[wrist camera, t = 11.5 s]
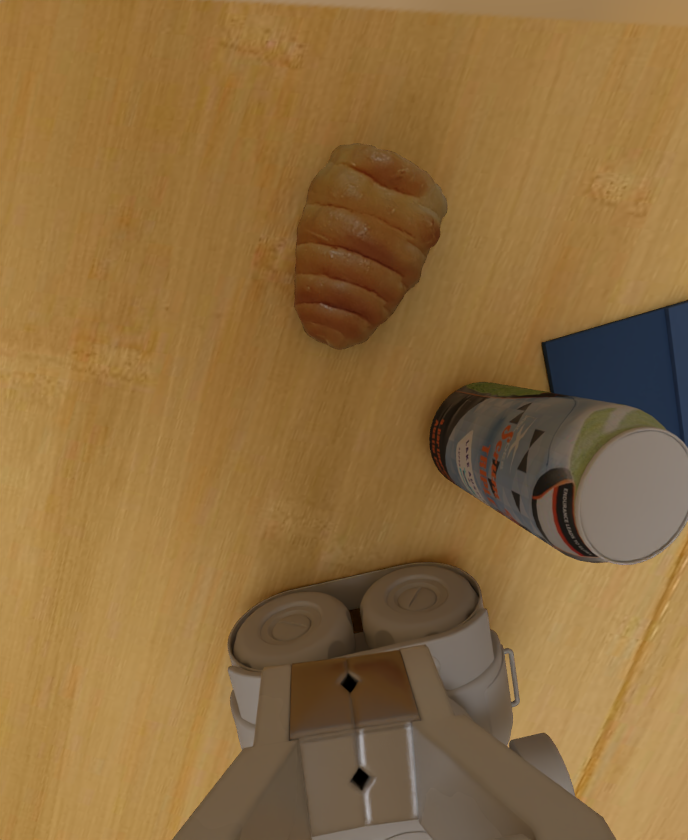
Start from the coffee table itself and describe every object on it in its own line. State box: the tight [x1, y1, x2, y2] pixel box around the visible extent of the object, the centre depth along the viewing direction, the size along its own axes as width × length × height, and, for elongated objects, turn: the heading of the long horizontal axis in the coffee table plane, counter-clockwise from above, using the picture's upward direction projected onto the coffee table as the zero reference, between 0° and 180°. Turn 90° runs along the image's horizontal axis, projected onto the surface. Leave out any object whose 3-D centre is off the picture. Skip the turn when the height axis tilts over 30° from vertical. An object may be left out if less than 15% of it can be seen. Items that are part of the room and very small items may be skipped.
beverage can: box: [429, 382, 688, 565], centre depth 21 cm, size 6×7×12 cm
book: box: [542, 300, 688, 448], centre depth 27 cm, size 11×9×1 cm
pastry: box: [294, 144, 447, 350], centre depth 23 cm, size 9×7×4 cm
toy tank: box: [228, 562, 575, 840], centre depth 23 cm, size 15×11×13 cm
